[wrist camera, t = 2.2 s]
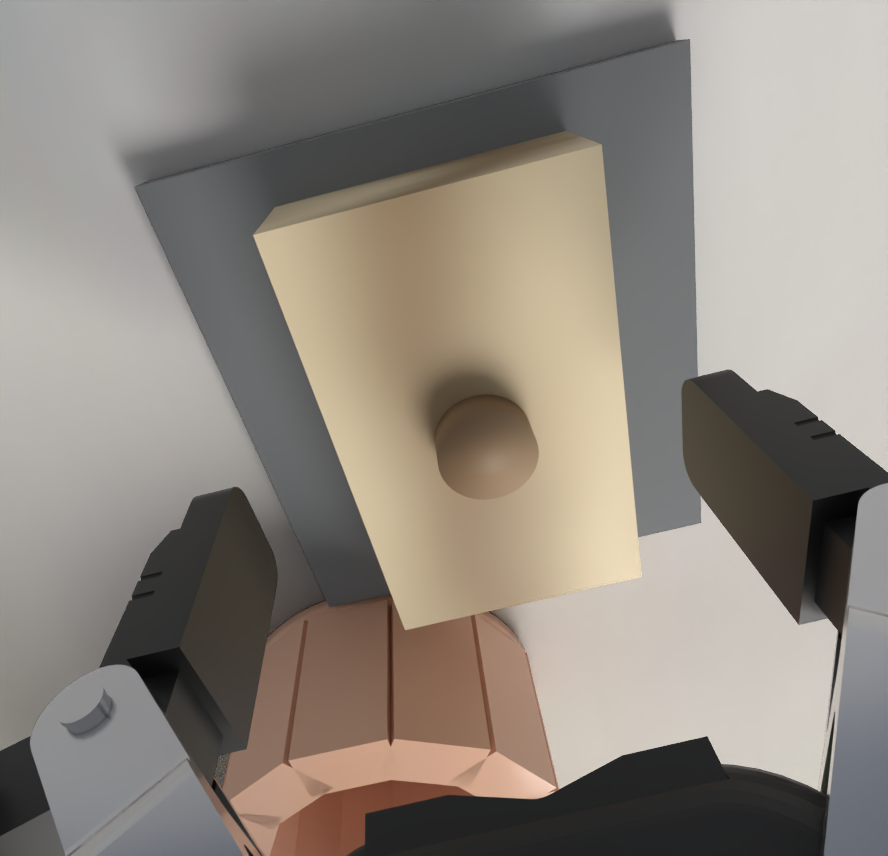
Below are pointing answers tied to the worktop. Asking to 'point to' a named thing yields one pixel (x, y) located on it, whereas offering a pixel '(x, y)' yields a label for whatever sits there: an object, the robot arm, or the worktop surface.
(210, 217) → the mat
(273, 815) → the bowl
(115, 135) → the worktop surface
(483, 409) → the lid
